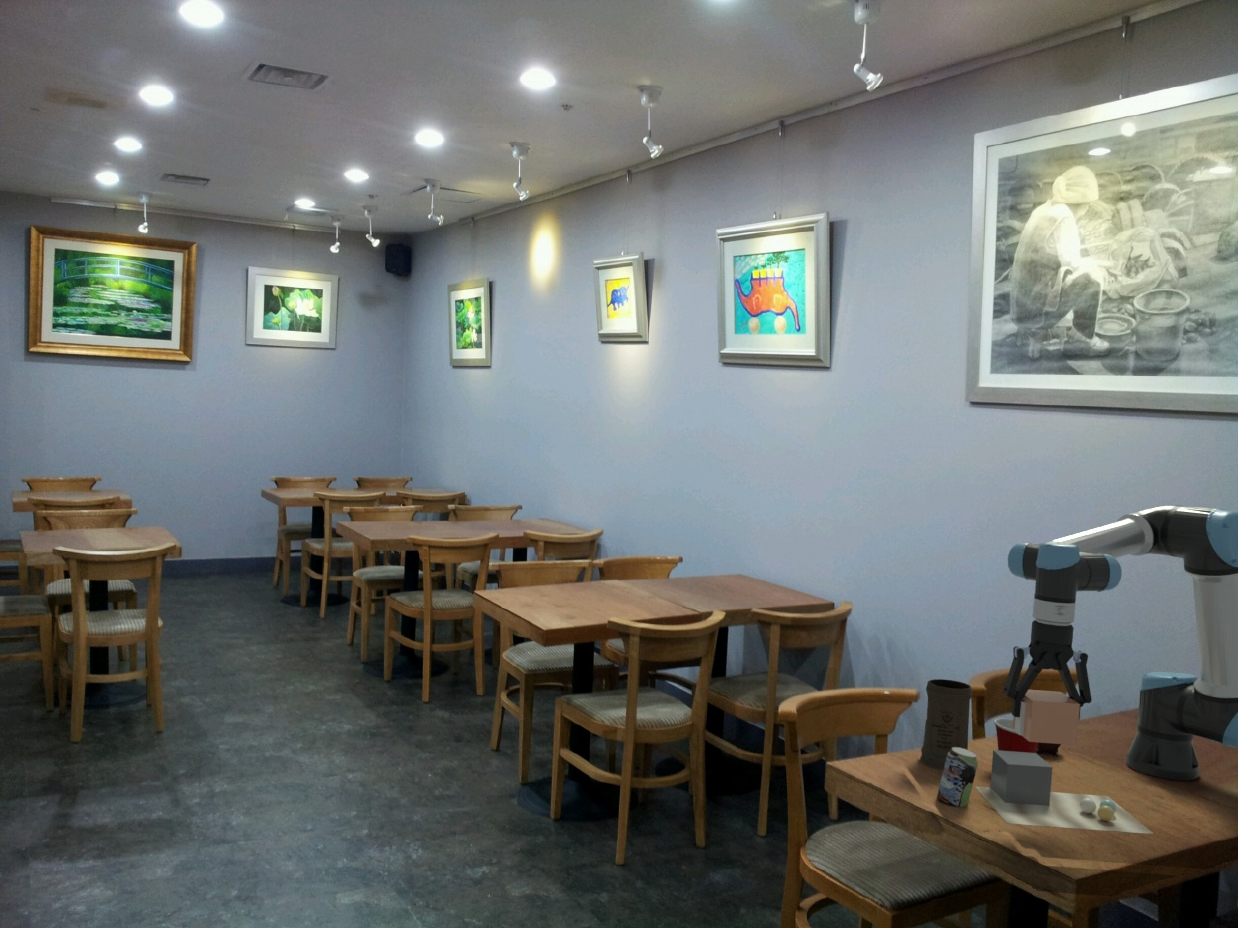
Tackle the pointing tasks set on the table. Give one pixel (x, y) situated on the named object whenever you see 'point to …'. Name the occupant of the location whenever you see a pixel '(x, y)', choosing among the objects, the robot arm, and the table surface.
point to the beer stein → (945, 720)
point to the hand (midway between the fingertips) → (1043, 734)
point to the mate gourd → (1048, 748)
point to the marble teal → (1108, 804)
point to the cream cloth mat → (1063, 813)
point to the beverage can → (957, 777)
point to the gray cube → (1021, 777)
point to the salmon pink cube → (1050, 717)
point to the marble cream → (1087, 805)
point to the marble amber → (1105, 813)
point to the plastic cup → (1012, 738)
